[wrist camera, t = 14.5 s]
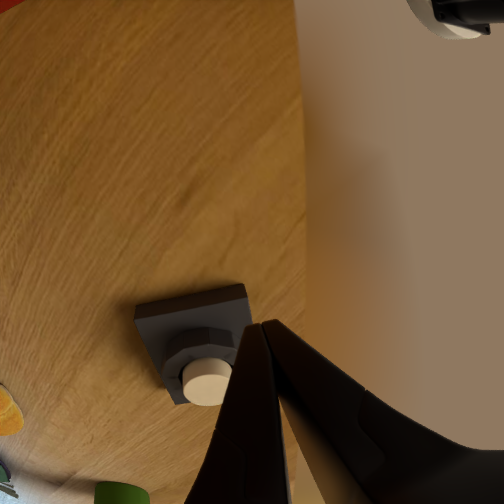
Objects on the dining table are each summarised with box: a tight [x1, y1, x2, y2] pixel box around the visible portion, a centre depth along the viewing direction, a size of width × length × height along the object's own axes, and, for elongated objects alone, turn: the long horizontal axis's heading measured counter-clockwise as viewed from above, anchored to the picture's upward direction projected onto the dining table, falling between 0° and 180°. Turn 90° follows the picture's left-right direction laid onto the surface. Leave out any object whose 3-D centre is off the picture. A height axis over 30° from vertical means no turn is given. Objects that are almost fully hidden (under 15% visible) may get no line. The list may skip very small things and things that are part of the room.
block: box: [133, 284, 253, 405], centre depth 23 cm, size 8×10×4 cm
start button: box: [183, 357, 232, 406], centre depth 21 cm, size 4×4×2 cm
